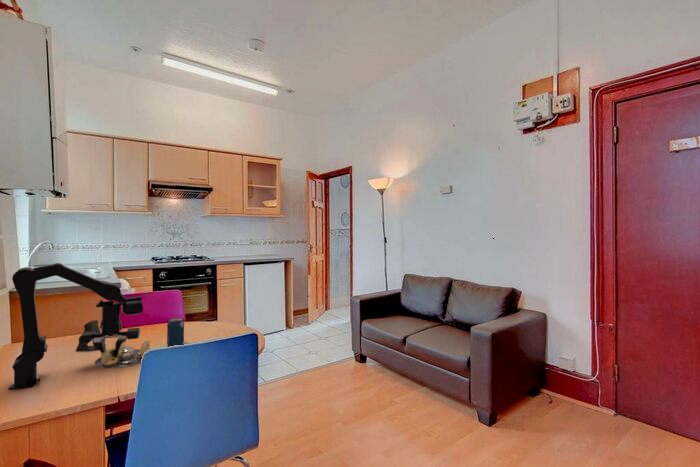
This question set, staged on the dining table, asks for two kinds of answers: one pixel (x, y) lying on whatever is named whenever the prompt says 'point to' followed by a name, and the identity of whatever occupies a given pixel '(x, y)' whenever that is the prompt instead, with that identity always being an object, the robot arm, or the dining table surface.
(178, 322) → the soda can
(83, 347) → the phone stand
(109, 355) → the wing knob
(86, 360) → the dining table surface
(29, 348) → the robot arm
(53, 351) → the dining table surface
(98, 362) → the levelling base
